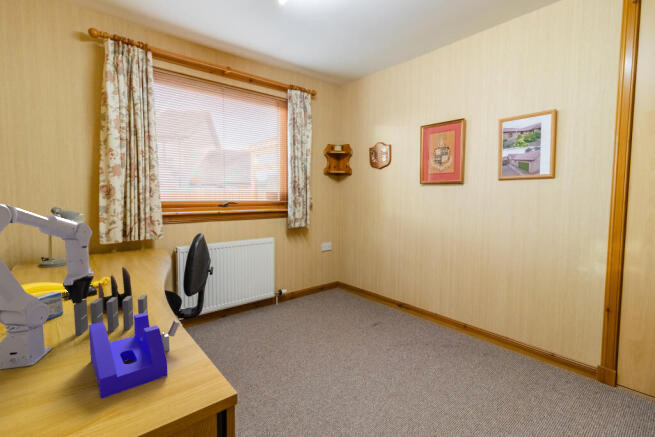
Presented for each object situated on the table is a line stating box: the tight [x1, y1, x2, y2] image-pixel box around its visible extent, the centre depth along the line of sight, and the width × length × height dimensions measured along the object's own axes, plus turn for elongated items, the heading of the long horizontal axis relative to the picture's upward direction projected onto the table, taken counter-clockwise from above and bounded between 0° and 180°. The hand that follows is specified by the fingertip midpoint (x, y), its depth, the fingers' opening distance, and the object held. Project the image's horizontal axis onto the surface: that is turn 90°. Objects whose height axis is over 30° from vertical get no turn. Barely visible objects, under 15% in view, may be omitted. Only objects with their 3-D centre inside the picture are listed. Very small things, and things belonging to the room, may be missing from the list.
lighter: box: [160, 320, 180, 352], centre depth 91 cm, size 7×2×8 cm, turn 128°
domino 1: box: [73, 298, 89, 336], centre depth 103 cm, size 5×2×10 cm, turn 17°
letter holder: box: [97, 266, 133, 315], centre depth 129 cm, size 10×20×14 cm, turn 40°
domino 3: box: [106, 297, 120, 333], centre depth 105 cm, size 5×2×10 cm, turn 17°
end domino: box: [137, 294, 149, 315], centre depth 108 cm, size 5×2×10 cm, turn 17°
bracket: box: [88, 313, 169, 400], centre depth 82 cm, size 21×14×10 cm, turn 42°
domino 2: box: [89, 297, 104, 325], centre depth 104 cm, size 5×2×10 cm, turn 17°
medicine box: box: [36, 291, 64, 322], centre depth 114 cm, size 8×4×9 cm, turn 168°
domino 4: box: [122, 295, 134, 331], centre depth 107 cm, size 5×2×10 cm, turn 17°
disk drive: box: [65, 284, 98, 301], centre depth 143 cm, size 10×3×15 cm
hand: (80, 300), depth 102 cm, fingers open, 3 cm apart
